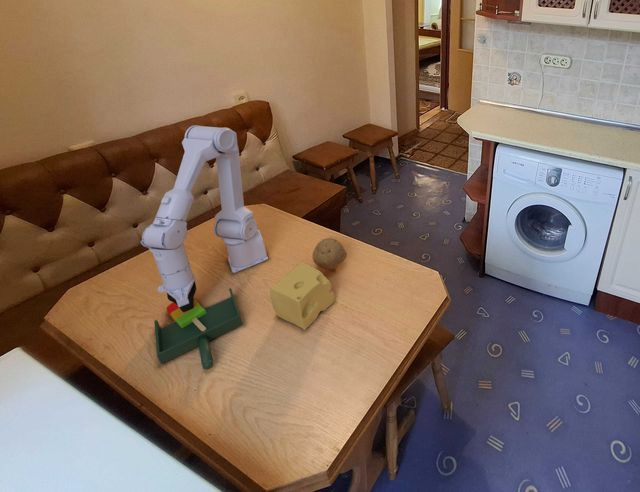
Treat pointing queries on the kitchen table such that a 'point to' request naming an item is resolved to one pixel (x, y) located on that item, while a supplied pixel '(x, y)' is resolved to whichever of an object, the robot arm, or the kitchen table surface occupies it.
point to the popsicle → (187, 315)
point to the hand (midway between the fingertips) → (188, 309)
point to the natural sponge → (329, 253)
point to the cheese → (301, 295)
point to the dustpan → (197, 332)
